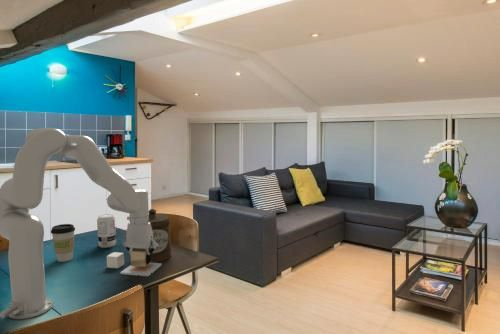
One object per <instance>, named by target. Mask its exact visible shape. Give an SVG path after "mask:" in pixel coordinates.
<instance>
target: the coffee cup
mask: <svg viewBox="0 0 500 334" xmlns="http://www.w3.org/2000/svg"><path fill="white" fill-rule="evenodd" d="M75 231H76V227H75V226H74V224H73V223H71V224H70V223H62V224H57V225H53V226H52V227H51V229H50V233H51V236H52V243H53V248H54V252H55V255H56V261H57V262H68V261H71V260H73V259H74V258H73V256H74V246H75Z"/></svg>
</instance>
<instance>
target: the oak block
mask: <svg viewBox="0 0 500 334" xmlns="http://www.w3.org/2000/svg"><path fill="white" fill-rule="evenodd" d="M130 253H131V258H130V265H131V266H139V267H145V266H147V265H148V264H146V255H147V252H146V250H145V249H137V248H135V249H134V250H132V251H131V252H130ZM130 253H129V254H130ZM150 263H153V262H152V261H151V262H150Z"/></svg>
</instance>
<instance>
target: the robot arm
mask: <svg viewBox="0 0 500 334" xmlns="http://www.w3.org/2000/svg"><path fill="white" fill-rule="evenodd" d="M52 156H53V157H59V158H65V159H74V160H76V161H77V163H78V164H79V166H80V167H81V168H82V170H83V171H84V172H85V174H86V175H87V176H88V178H89V179H90V180H91V181H92V182H93V183H94V184H96V185H97V186H99V187H101V188H103V189H105V190H106V191H108V192H110V194H109V195H108V196H107V198H106V203H107V206H108V207H109V208H110V209H111V210H113V211H117V212H122V213H125V214H129V216H127V217H126V220H128V222H129V223H127V225H126V226H127V228H126V237H125V239H126V240H125V241H124V242H123V243H122V246H123V247H124V248H125V249H126V250H127V251H128V253H129V255H130V259H131V253H130V252H131V251H132V250H134V249H135V248H137V249H145V250H146V252H147V255H146V264H149V263H152V262H151V261H152V252H153V251H154V250H155V249H156V248H157V247H158V246H159V245H158V244H157V243H156V242H155V240H154V239H153V231H152V226H151V223H150V222H149V210H150V208H149V193H148V191H147V189H143V188H136V189H135V188H134V187H133V185H132V184H131V183H130V182H129V181H128V180H127V179H126V178H125V177H124V176H122V175H121V174H120V173H119V172H118V171H117V170H116V169H114V168H113V167H112V165H111V164H110V162H109V161H108V160H107V158H106V157H105V155H104V154H103V152H102V151H101V150H100V148H99V146H98V145H97V144H96V143H95V141H94V139H92V138H91V137H89V136H87V135H80V134H79V135H78V134H77V135H76V134H75V135H72V134H65V133H64V131H62V130H61V129H58V128H56V127H55V128H54V127H38V128H37V127H36V128H33V129H31V130H29V131H28V133H27V134H26V135H25V143H24V144H23V145H22V146H21V148H20V149H19V151H18V152H17V154H16V156H15V160H14V167H13V170H12V171H13V172H12V178H8V179H6V180H5V181H4V182H3V183H2V185H1V186H0V237H2V238H4V239H6V240H8V241H9V245H8V252H7V253H8V256H7V258H8V269H9V280H10V291H11V301H10V302H8V303H9V306H8V307H7V308H6V309H4V310H2V311H0V318H1V319H5V318H7V317H8V318H10V319H13V320H26V319H30V318H31V319H32V318H34V317H39V316H40V315H43V314H45V313H47V312H48V311H49V310H50V309H51V308H52V307H53V301H52V299H50V298H48V297H47V288H46V275H45V274H46V273H45V261H44V260H45V259H44V237H45V227H44V224H43V223H42V221H41V220H40V218H38V217H37V216H35V215H34V214H31V213H30V210H33V209H36V208H37V207H38V206H40V205H41V203H42V200H43V195H44V181H45V172H46V166H47V164H48V162H49V161H50V159H51V157H52ZM152 245H153V248H151V246H152Z"/></svg>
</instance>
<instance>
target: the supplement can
mask: <svg viewBox="0 0 500 334" xmlns="http://www.w3.org/2000/svg"><path fill="white" fill-rule="evenodd" d="M96 225H97V241H98V242H97V243H98V245H97V246H99V248H103V249H104V248H105V249H106V248H113V247H115V246H116V244H117V234H116V233H117V232H116V217H115V216H114V214H111V213H110V214H101V215H98V216H97V219H96Z"/></svg>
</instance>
